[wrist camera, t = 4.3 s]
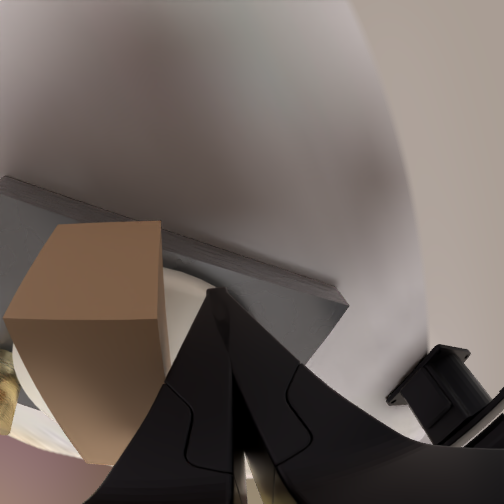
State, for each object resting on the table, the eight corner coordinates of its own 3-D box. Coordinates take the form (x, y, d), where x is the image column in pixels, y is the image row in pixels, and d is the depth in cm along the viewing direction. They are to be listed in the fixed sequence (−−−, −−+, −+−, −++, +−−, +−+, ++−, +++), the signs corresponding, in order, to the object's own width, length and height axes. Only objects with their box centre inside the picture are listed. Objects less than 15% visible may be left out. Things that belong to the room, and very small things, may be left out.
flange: (288, 204, 10) (370, 302, 6) (251, 424, 17) (275, 503, 12) (-27, 215, 8) (-110, 307, 3) (64, 429, 14) (58, 508, 10)
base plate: (335, 286, 15) (349, 305, 14) (231, 426, 19) (235, 444, 18) (4, 175, 9) (-14, 188, 8) (1, 374, 13) (-5, 394, 12)
